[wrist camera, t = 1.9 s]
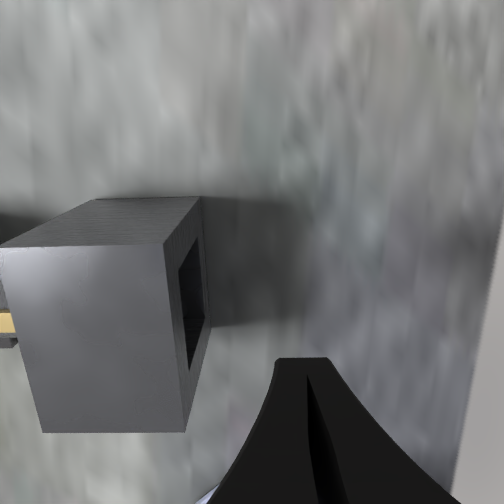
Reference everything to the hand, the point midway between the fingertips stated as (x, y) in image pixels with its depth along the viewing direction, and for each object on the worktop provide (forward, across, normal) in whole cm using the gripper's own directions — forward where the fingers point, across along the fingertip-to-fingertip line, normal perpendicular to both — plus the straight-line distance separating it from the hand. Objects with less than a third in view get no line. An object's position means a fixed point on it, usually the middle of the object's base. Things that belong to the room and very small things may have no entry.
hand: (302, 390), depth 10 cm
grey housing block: (+9, +6, 0) cm, 11 cm away
